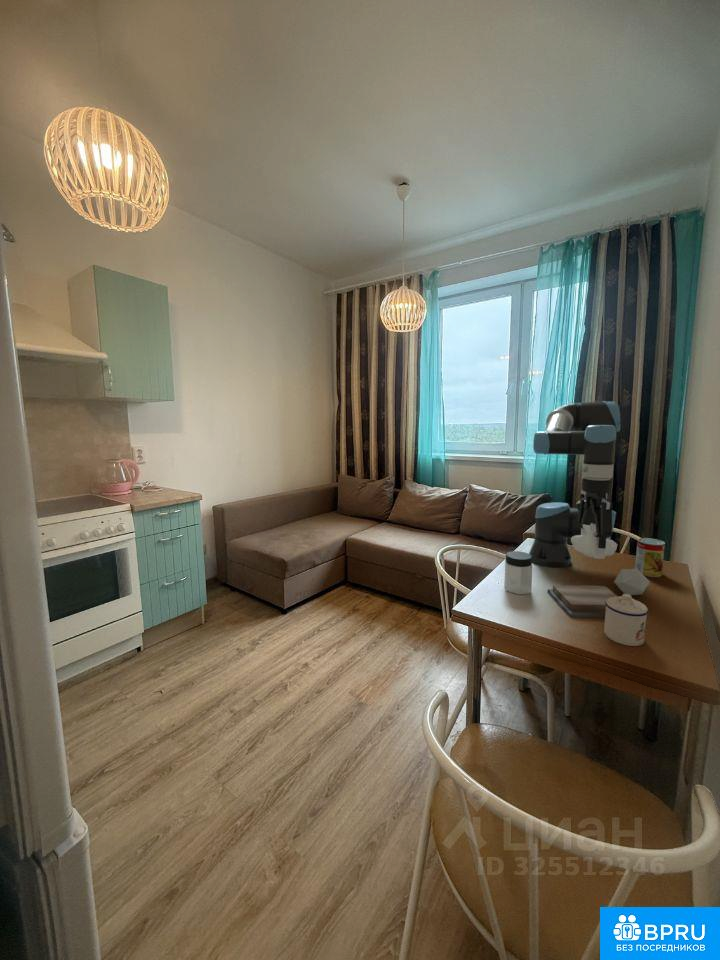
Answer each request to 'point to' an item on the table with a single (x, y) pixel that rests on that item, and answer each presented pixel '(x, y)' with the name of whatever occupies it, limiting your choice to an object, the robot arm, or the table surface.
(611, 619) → the teacup with lid
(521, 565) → the jar
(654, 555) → the canned food
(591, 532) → the bust
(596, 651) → the table surface
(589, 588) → the pedestal
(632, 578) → the die
